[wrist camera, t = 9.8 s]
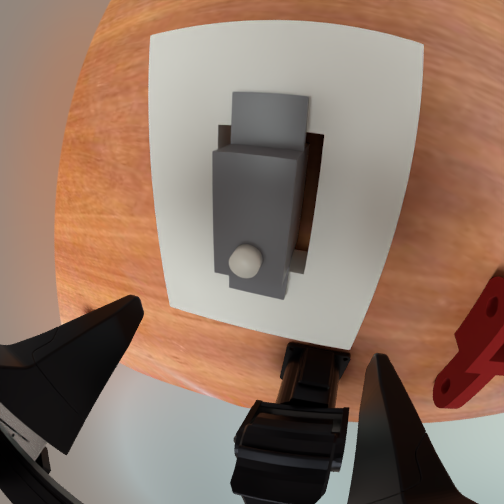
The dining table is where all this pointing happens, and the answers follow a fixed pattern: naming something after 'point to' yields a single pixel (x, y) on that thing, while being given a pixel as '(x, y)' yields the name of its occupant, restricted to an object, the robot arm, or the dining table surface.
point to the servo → (260, 191)
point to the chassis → (331, 173)
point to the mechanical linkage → (475, 350)
